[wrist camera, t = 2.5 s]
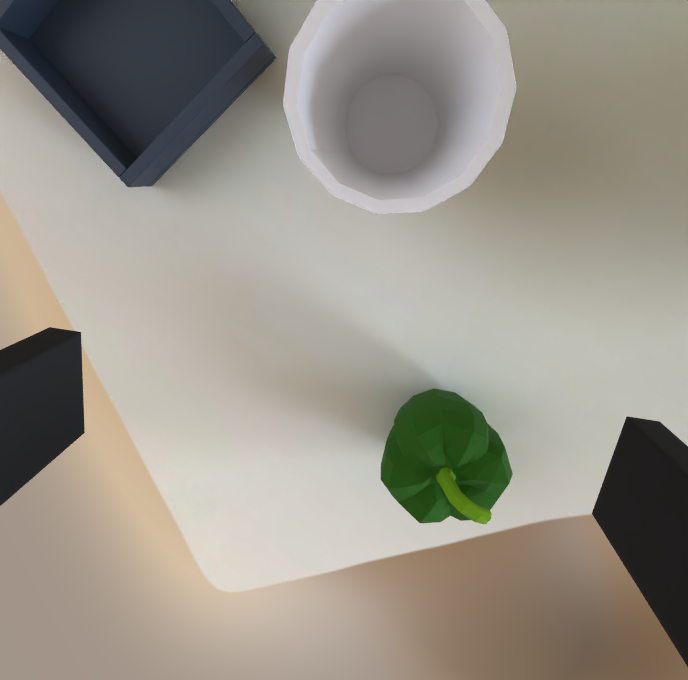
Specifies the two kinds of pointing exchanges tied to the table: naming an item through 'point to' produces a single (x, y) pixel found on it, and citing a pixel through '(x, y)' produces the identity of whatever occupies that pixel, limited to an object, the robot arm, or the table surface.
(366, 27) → the foam cup
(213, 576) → the table surface
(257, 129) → the table surface
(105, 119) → the tray
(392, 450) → the bell pepper
